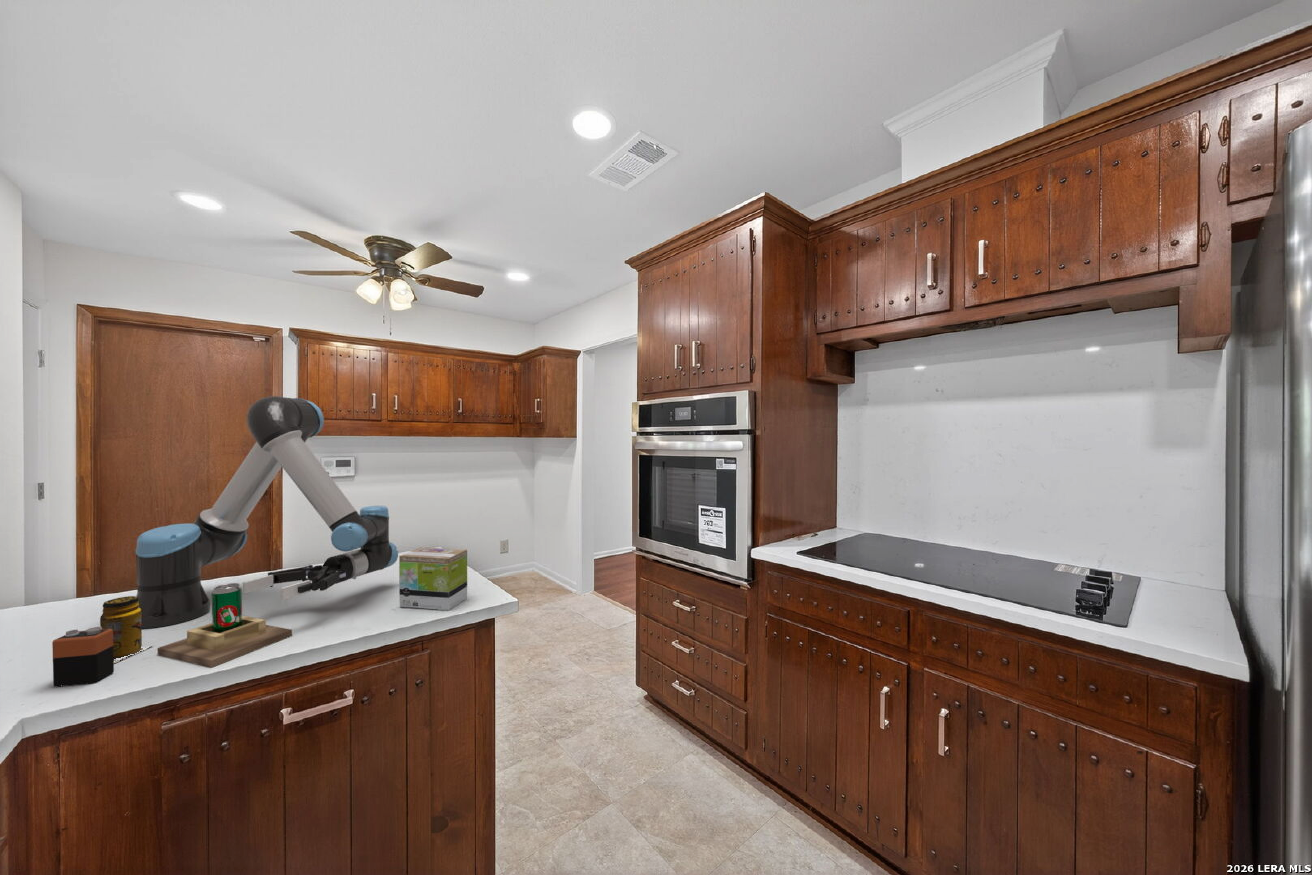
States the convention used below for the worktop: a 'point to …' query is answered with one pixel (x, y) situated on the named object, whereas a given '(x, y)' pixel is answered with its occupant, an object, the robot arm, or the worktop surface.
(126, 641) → the condiment
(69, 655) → the battery
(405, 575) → the tea box
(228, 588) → the soda can
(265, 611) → the worktop surface
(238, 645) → the collar board
